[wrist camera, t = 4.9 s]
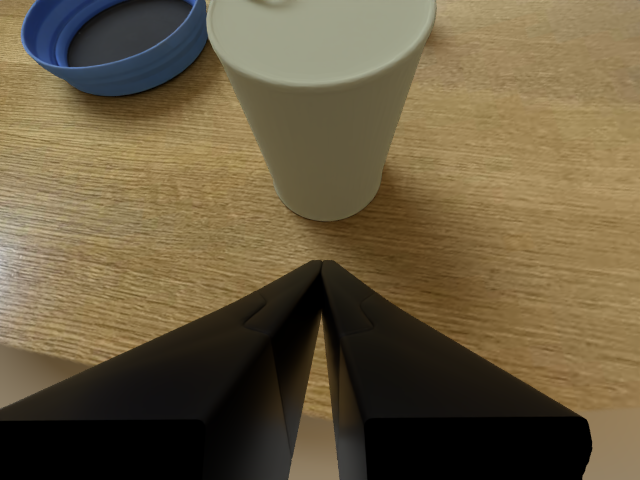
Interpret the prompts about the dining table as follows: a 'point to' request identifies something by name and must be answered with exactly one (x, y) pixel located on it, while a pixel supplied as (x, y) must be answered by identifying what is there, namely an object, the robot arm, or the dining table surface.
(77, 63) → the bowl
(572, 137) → the dining table surface
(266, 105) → the can
